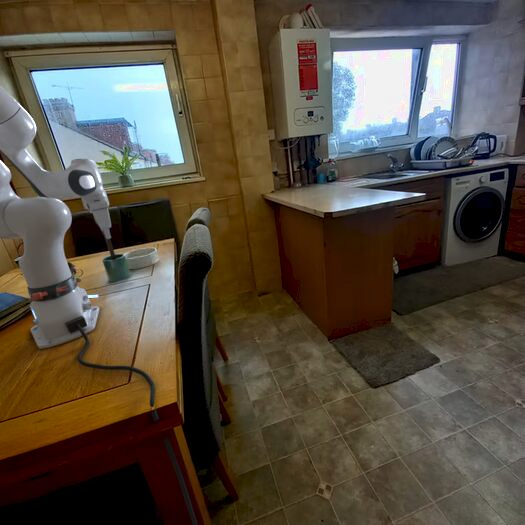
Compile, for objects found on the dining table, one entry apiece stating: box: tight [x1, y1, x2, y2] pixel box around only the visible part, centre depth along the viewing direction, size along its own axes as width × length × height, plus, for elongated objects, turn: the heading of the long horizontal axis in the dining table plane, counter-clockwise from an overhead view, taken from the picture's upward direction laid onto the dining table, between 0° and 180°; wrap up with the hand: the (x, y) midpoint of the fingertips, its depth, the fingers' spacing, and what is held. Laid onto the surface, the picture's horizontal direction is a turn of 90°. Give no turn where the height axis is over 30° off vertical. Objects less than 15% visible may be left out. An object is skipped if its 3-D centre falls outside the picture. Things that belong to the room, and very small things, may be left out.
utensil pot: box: [101, 253, 131, 283], centre depth 119 cm, size 9×9×10 cm
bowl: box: [123, 246, 160, 270], centre depth 135 cm, size 16×16×6 cm
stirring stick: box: [101, 229, 116, 260], centre depth 117 cm, size 3×3×22 cm
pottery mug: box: [67, 261, 77, 274], centre depth 130 cm, size 12×10×8 cm
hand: (107, 236), depth 114 cm, fingers open, 8 cm apart
